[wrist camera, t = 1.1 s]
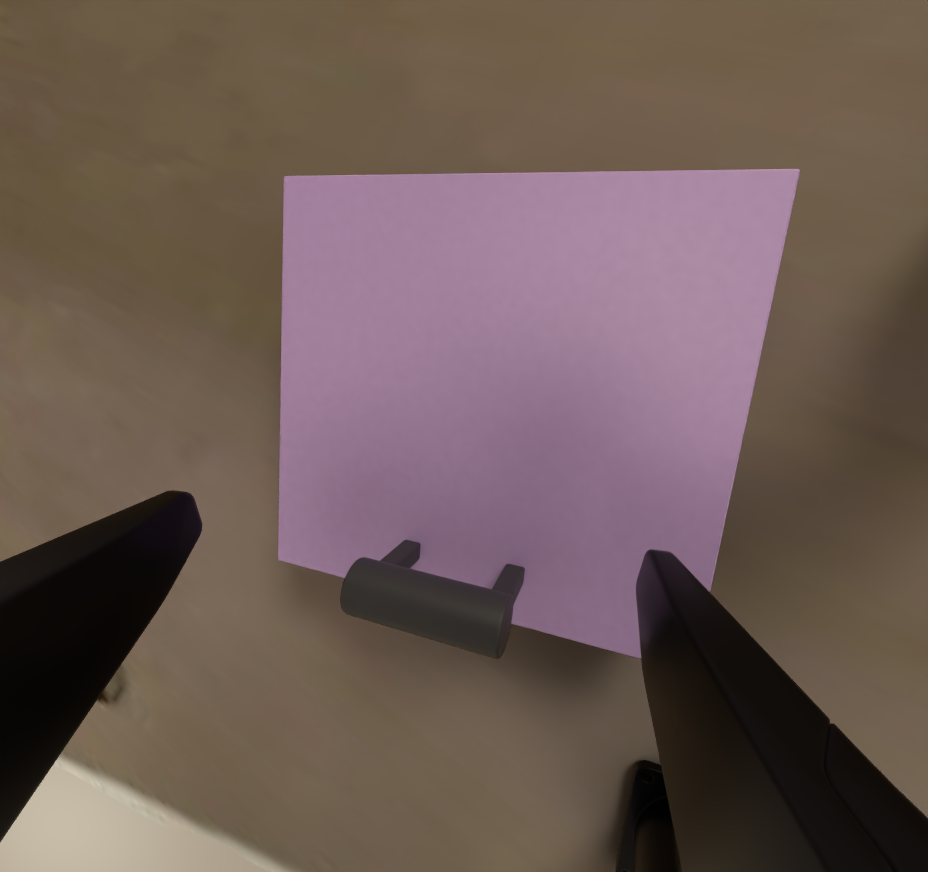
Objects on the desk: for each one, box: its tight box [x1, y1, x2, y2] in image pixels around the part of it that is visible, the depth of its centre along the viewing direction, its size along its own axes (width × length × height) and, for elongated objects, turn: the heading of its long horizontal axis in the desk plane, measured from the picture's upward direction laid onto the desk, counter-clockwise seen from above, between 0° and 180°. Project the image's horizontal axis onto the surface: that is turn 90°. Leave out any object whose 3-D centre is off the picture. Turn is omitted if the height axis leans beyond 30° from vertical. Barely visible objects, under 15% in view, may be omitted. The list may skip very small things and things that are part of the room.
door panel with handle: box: [278, 169, 800, 659], centre depth 15 cm, size 15×16×5 cm
